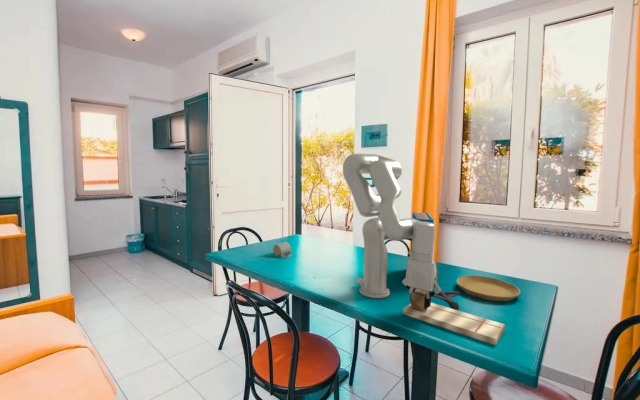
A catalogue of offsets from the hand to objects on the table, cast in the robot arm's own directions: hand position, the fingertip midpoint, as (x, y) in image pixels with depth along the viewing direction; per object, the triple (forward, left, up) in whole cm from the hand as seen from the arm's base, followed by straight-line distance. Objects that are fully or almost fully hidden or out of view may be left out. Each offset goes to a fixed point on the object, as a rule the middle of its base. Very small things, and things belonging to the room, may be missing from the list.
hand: (420, 305), depth 117 cm
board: (+11, +1, -3) cm, 11 cm away
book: (-15, +36, -3) cm, 39 cm away
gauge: (0, +2, -1) cm, 2 cm away
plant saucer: (+13, +39, -3) cm, 41 cm away
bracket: (+4, +18, -4) cm, 19 cm away
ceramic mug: (-90, +16, -3) cm, 91 cm away
